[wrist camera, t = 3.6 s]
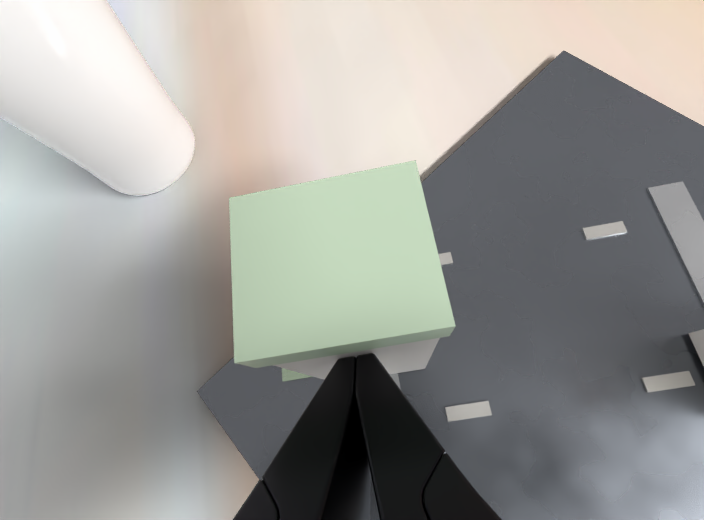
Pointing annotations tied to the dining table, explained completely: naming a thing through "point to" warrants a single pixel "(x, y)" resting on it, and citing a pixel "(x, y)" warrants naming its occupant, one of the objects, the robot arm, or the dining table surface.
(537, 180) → the switch panel
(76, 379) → the dining table surface
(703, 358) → the terracotta slider
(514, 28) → the dining table surface
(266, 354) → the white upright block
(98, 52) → the white rounded cylinder
